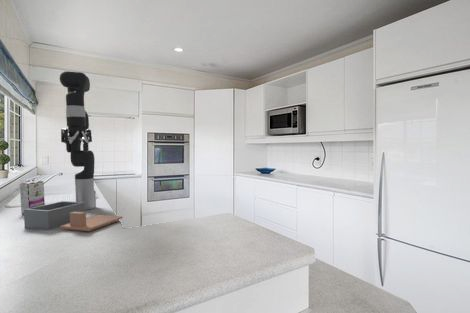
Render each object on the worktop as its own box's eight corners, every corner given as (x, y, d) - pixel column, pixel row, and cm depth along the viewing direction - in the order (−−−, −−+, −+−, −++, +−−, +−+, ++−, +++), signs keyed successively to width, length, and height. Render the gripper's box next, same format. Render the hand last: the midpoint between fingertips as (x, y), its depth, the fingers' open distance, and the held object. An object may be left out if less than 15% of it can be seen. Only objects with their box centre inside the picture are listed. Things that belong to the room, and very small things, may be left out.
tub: (63, 217, 131) (62, 201, 130) (84, 218, 126) (84, 202, 126) (24, 227, 113) (23, 209, 113) (48, 230, 109) (47, 211, 109)
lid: (97, 219, 127) (96, 203, 126) (122, 221, 122) (122, 204, 122) (60, 231, 108) (59, 212, 108) (88, 234, 104) (88, 214, 104)
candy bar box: (36, 209, 151) (35, 180, 150) (45, 209, 150) (44, 180, 150) (20, 213, 139) (19, 183, 139) (29, 213, 139) (28, 183, 139)
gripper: (82, 117, 127) (84, 151, 128) (55, 115, 114) (57, 152, 115) (95, 117, 125) (96, 151, 126) (68, 114, 111) (70, 152, 113)
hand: (78, 151), depth 120 cm, fingers open, 8 cm apart
